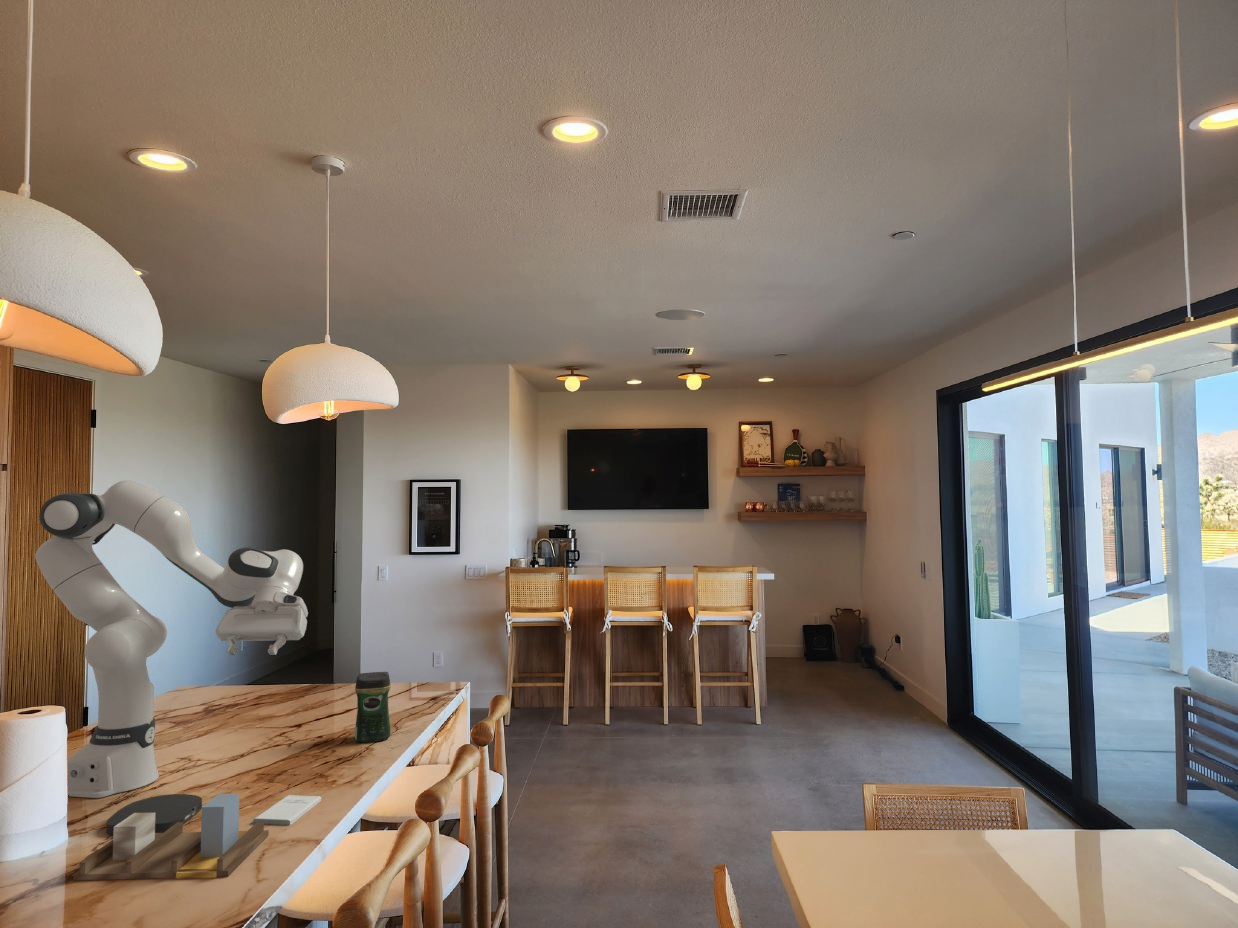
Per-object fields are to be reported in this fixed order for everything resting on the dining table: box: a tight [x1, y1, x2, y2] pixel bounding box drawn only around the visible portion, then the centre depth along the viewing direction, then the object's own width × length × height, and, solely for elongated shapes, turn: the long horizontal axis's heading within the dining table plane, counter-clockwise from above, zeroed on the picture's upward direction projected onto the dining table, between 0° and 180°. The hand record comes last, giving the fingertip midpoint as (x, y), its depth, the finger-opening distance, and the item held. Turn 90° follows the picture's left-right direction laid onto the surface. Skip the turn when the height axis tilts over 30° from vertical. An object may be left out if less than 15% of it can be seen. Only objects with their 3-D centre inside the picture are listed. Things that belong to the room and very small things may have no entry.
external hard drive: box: [252, 794, 322, 826], centre depth 156 cm, size 2×8×12 cm
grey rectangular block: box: [200, 793, 240, 857], centre depth 136 cm, size 4×6×9 cm, turn 2°
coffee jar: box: [354, 671, 391, 743], centre depth 205 cm, size 10×8×19 cm
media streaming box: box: [106, 793, 203, 836], centre depth 152 cm, size 15×15×3 cm
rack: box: [72, 813, 270, 881], centre depth 136 cm, size 27×16×7 cm, turn 92°
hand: (251, 653), depth 170 cm, fingers open, 8 cm apart
